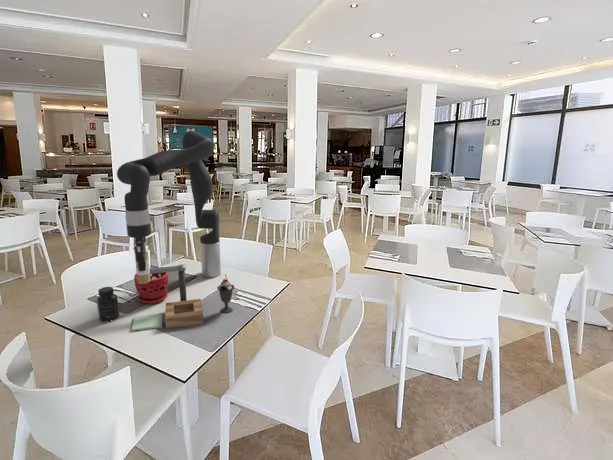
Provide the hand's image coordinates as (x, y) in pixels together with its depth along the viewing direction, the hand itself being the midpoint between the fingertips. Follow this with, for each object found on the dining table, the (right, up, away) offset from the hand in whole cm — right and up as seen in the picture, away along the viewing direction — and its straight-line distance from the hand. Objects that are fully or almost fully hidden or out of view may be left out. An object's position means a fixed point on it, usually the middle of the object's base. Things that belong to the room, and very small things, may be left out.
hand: (142, 268), depth 128 cm
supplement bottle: (-17, -20, +8) cm, 27 cm away
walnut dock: (+11, -20, +13) cm, 26 cm away
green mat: (-1, -21, +6) cm, 22 cm away
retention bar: (+2, -3, +13) cm, 13 cm away
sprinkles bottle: (0, -5, +1) cm, 5 cm away
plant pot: (-6, -16, +24) cm, 30 cm away
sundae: (+26, -19, +17) cm, 36 cm away
